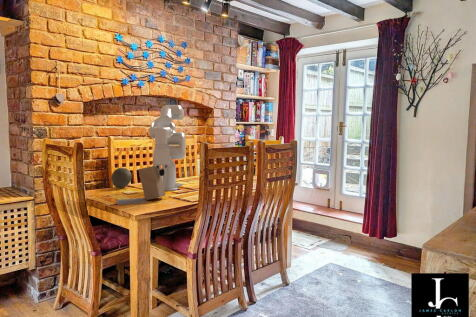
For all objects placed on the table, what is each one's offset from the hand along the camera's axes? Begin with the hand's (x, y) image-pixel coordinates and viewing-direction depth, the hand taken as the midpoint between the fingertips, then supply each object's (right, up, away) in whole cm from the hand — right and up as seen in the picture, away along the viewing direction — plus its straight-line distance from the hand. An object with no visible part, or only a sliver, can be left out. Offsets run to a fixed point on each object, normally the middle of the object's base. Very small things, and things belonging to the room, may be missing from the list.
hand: (161, 175), depth 227 cm
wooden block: (-4, -14, 0) cm, 15 cm away
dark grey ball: (-38, -11, +39) cm, 56 cm away
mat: (-18, -16, -6) cm, 24 cm away
